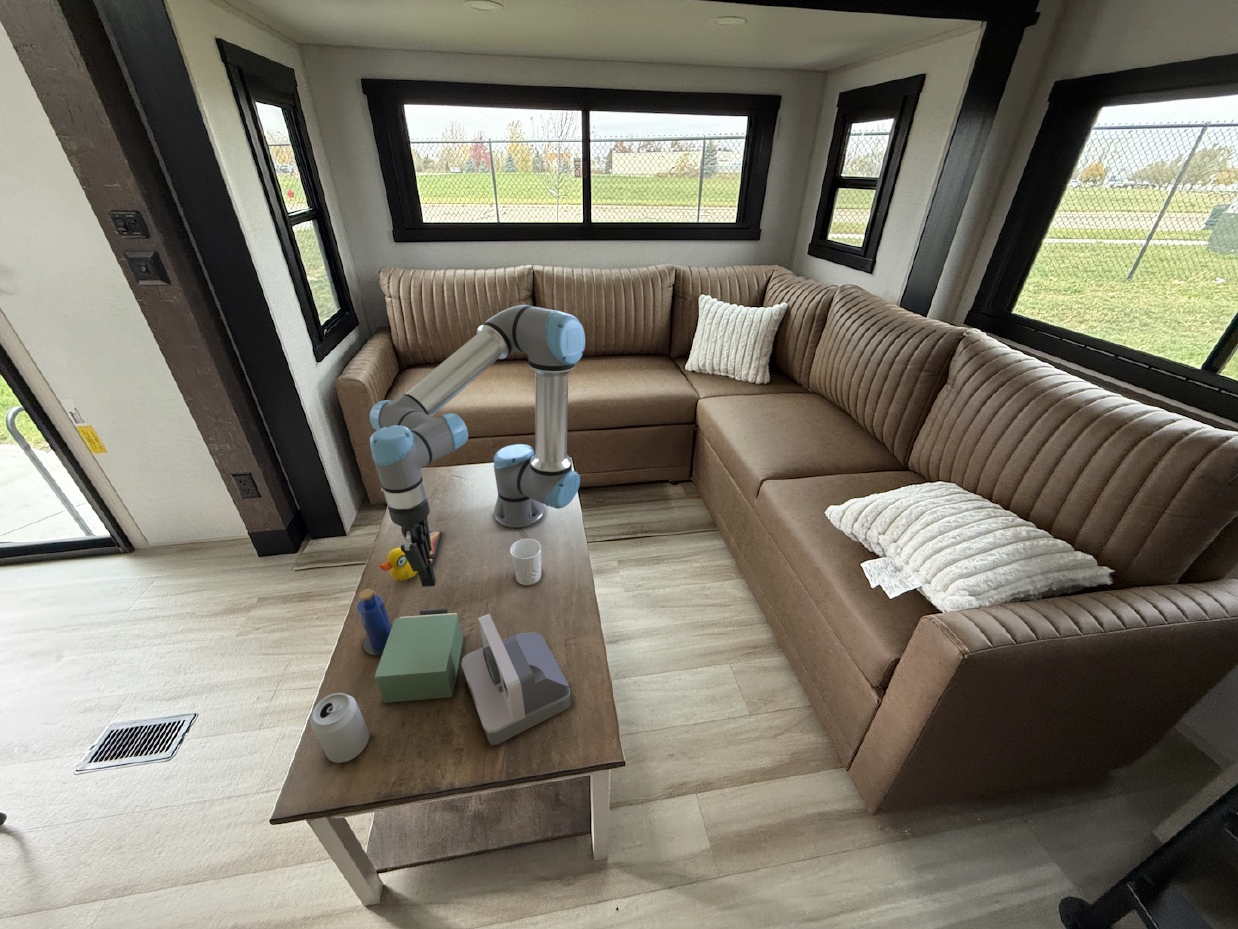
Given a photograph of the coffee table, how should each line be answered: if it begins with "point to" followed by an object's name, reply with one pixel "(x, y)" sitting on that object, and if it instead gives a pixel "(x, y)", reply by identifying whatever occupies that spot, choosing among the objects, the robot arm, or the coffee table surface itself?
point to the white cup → (526, 561)
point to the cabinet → (420, 658)
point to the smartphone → (434, 542)
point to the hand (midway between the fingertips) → (429, 584)
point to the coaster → (372, 651)
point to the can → (339, 727)
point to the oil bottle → (374, 618)
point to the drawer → (432, 612)
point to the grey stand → (514, 682)
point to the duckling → (398, 565)
